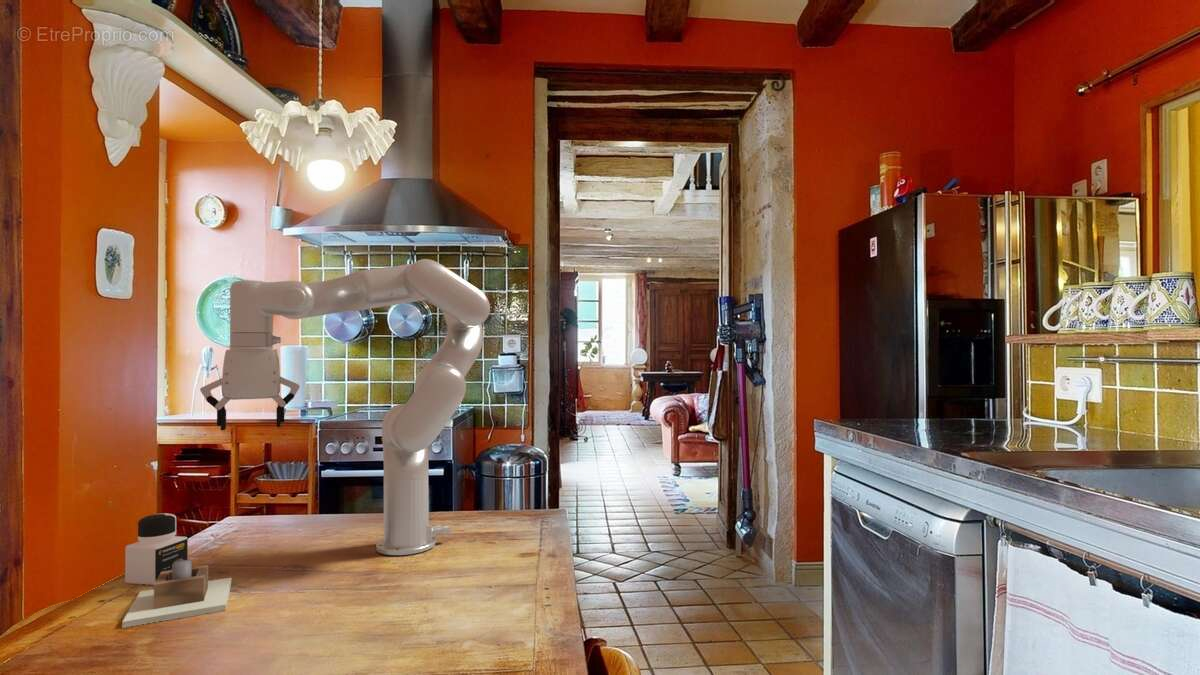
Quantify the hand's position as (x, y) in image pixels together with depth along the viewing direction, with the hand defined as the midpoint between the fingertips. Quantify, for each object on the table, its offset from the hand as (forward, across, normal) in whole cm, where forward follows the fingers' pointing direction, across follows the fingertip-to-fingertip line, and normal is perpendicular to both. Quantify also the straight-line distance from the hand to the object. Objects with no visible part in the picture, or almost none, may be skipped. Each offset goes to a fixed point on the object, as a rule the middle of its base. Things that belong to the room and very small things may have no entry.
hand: (251, 427), depth 124 cm
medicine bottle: (+28, +16, -4) cm, 33 cm away
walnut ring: (+27, +10, +13) cm, 32 cm away
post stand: (+28, +10, +13) cm, 33 cm away
